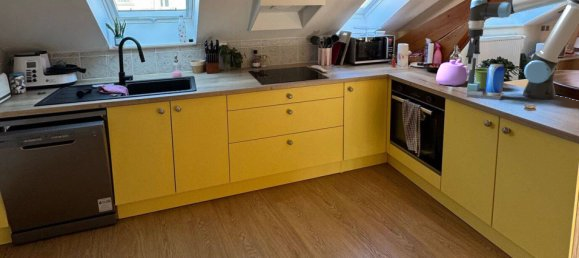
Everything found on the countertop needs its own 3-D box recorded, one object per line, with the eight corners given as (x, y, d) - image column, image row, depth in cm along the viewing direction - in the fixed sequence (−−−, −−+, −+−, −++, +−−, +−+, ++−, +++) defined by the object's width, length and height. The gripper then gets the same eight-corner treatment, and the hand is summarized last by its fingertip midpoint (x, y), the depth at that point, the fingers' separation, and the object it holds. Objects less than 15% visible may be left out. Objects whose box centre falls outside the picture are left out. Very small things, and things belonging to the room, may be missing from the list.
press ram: (479, 91, 242) (482, 57, 237) (476, 94, 236) (479, 59, 230) (468, 90, 245) (471, 57, 240) (465, 93, 239) (468, 59, 233)
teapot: (467, 88, 258) (469, 63, 253) (432, 85, 270) (434, 61, 266) (477, 81, 275) (479, 58, 270) (444, 78, 287) (446, 56, 283)
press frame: (503, 95, 237) (504, 89, 236) (500, 99, 229) (500, 93, 228) (471, 92, 247) (471, 86, 245) (466, 96, 238) (467, 90, 237)
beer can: (495, 96, 230) (498, 66, 225) (482, 93, 237) (484, 64, 232) (505, 94, 234) (508, 64, 229) (491, 91, 241) (494, 63, 236)
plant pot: (470, 86, 263) (471, 68, 259) (490, 86, 261) (492, 67, 258) (475, 90, 252) (476, 71, 248) (496, 90, 250) (498, 71, 246)
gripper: (473, 26, 243) (469, 63, 249) (463, 30, 223) (459, 70, 230) (487, 26, 239) (483, 64, 245) (478, 30, 219) (474, 71, 226)
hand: (471, 67), depth 237 cm, fingers open, 13 cm apart
